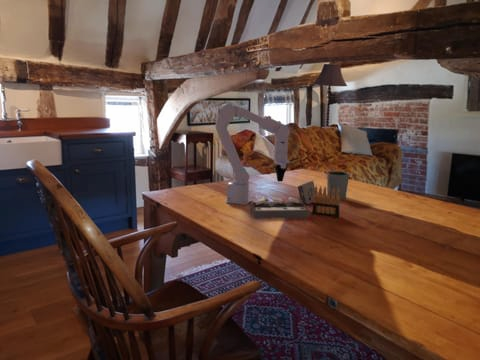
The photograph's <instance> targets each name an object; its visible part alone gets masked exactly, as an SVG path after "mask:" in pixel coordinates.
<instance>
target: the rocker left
mask: <svg viewBox="0 0 480 360" xmlns="http://www.w3.org/2000/svg"><path fill="white" fill-rule="evenodd" d="M254 202H256V205H257V204H261V203H262V204H263V203H264V202H270V200H269V198H268V197H267V196H264V197H261V198H258V199H255V200H254Z"/></svg>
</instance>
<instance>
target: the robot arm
mask: <svg viewBox="0 0 480 360" xmlns="http://www.w3.org/2000/svg"><path fill="white" fill-rule="evenodd" d="M234 118H244V119H247V120H249V121H252V122H254V123H255V124H258V126H259V129H261V130H264V131H266V132H268V133H270V134H272V135H275V136H274V137H275V139H274V155H273V156H274V158H273V159H274V160H273V163H274V165H273V168H274V169H275V175H276V181H277V182H283V181H284V177H285V174H286V171H287V170H288V165H287V164H289V163H291V160H288V150H289V149H288V145H289V136H290V134H291V130H290V128H289V127H288V125H286V124H284V123H282V121H280V120H276V119H274V118H272V116H271V115H268V116H267V115H264V116H260V115H258V114H256V113H254V112H251V111H250V110H248V109H246V108H244V107H242V106H239V105H238V106H237V105H233V104H230V103H228V102H227V103H223V104H221V106H220V108H219V109H218V111H217V116H216V120H215V125H214V128H215V131H216V132H217V135H218V137H219V139H220V142H221V144H222V147H223V149H224V152H225V154H226V156H227V158H228V160H229V163H230V166H231V168H232V176H233V177H234V178H233V180H232V181H229V182H228V183H227V185H226V201H225V203H227V204H233V205H242V206H247V205H248V204H249V203H251V202H252V199H249V195H250V194H249V184H250V183H249V179H250V174H249V172H248V171H247V169H246V168H245V167H244V166H243V163H242V161H241V159H240V157H239V154H238V152H237V149H236V146H235V145H234V142H233V140H232V137H231V135H230V132H229V129H228V126H229V124H230V122H231V121H232V120H233V119H234Z"/></svg>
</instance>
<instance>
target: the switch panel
mask: <svg viewBox="0 0 480 360" xmlns="http://www.w3.org/2000/svg"><path fill="white" fill-rule="evenodd" d="M285 202H286V203H285V204H282V203H279V204H278V202H274V201H268V202H264V203H263V204H262V203H261V204H257V205H256V202H255V201H253V202H252V201H250V210H251V214H252V217H253V219H294V218H295V219H296V218H297V219H298V218H299V219H301V218H302V219H303V218H310V209H309V208H308V207H307V206H306V204H305V203H303V202H302V204H300V203H295V202H292V201H285Z"/></svg>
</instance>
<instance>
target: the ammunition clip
mask: <svg viewBox="0 0 480 360" xmlns="http://www.w3.org/2000/svg"><path fill="white" fill-rule="evenodd" d="M340 204H341V200H340V189H339V188H338V190H337V196H336V200H335V188H333V191H332V197H331V190H330V187H329V189H328V194H327V187H326V186H324V187H323V189H322V186H321V185H320V186H319V189H318V186H317V185H315V191H314V198H313V202H312V211H311V215H313V216H321V217H328V218H329V217H330V218H331V217H332V218H336V219H337V218H338V219H339V218H340Z"/></svg>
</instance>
